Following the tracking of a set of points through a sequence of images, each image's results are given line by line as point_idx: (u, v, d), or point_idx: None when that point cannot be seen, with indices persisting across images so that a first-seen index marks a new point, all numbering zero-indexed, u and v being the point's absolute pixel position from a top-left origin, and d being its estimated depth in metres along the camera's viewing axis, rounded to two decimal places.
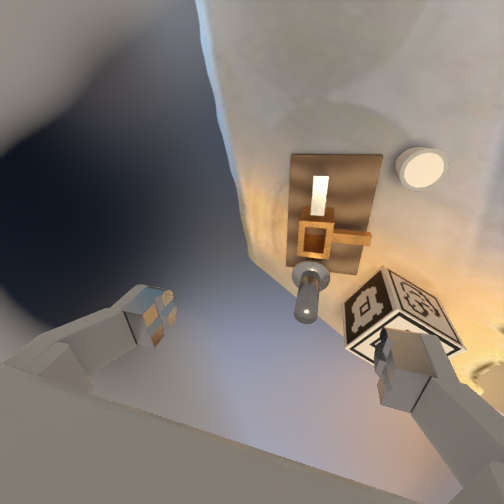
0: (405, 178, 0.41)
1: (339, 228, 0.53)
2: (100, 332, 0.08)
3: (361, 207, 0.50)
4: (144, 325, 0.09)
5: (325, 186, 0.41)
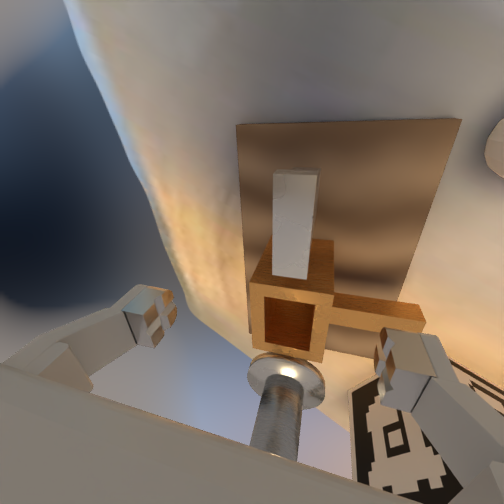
0: None
1: (344, 279, 0.26)
2: (100, 332, 0.08)
3: (394, 241, 0.23)
4: (144, 325, 0.09)
5: (308, 204, 0.14)
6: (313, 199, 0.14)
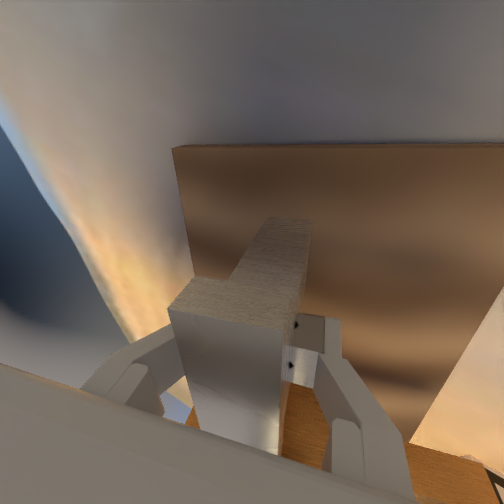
0: None
1: None
2: (171, 350, 0.08)
3: (431, 333, 0.14)
4: None
5: (265, 382, 0.05)
6: (278, 375, 0.05)
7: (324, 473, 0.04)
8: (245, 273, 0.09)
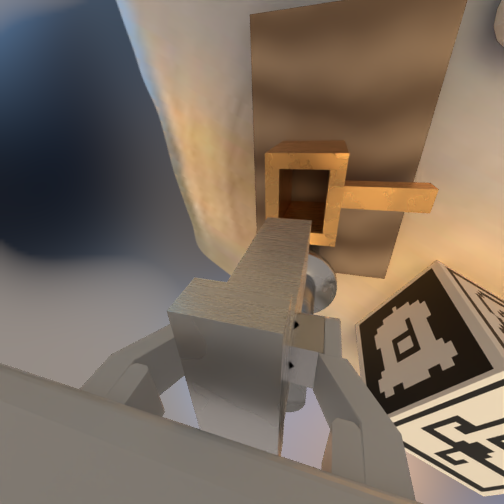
0: None
1: None
2: (171, 349, 0.08)
3: (404, 133, 0.23)
4: None
5: (265, 384, 0.05)
6: (278, 377, 0.05)
7: (324, 473, 0.04)
8: (245, 274, 0.09)
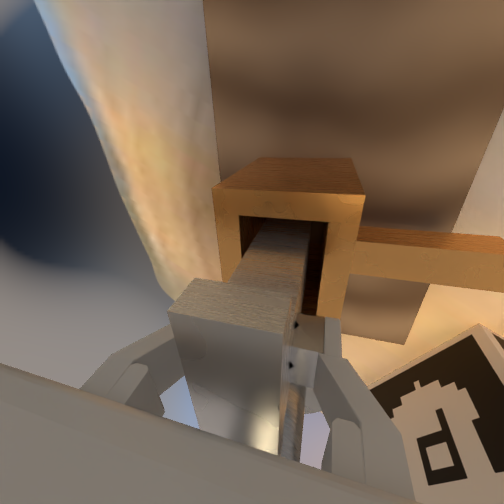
0: None
1: (364, 223, 0.18)
2: (171, 349, 0.08)
3: (447, 150, 0.15)
4: None
5: (265, 385, 0.05)
6: (278, 378, 0.05)
7: (324, 473, 0.04)
8: (245, 275, 0.09)
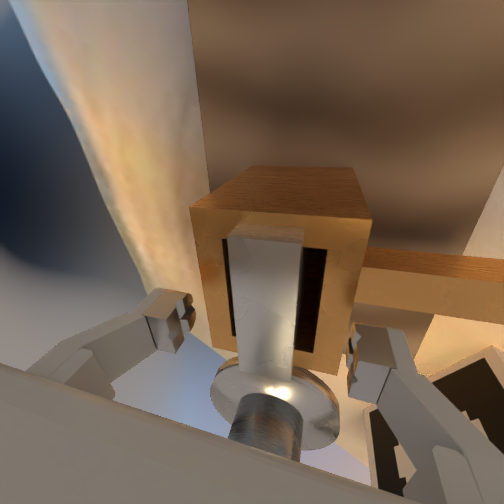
0: None
1: None
2: (122, 337, 0.08)
3: (461, 159, 0.13)
4: (166, 330, 0.09)
5: (288, 286, 0.08)
6: (296, 279, 0.08)
7: (324, 473, 0.04)
8: None
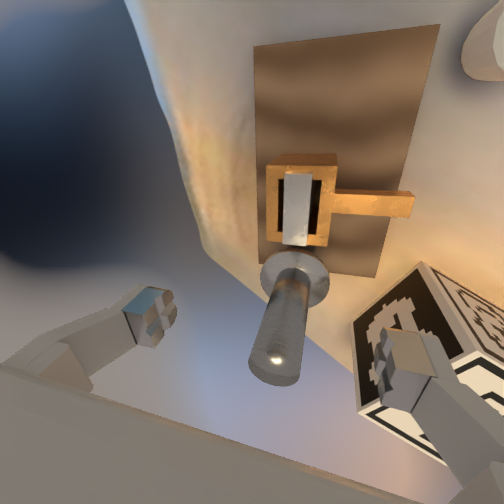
0: None
1: None
2: (100, 332, 0.08)
3: (388, 148, 0.26)
4: (144, 325, 0.09)
5: (306, 193, 0.22)
6: (310, 189, 0.21)
7: (324, 473, 0.04)
8: None
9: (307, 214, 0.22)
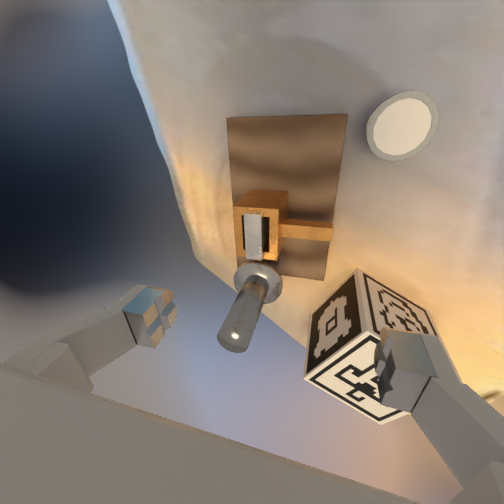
0: (375, 141, 0.28)
1: (297, 219, 0.40)
2: (100, 332, 0.08)
3: (323, 189, 0.37)
4: (144, 325, 0.09)
5: (258, 226, 0.32)
6: (260, 224, 0.32)
7: (324, 473, 0.04)
8: None
9: (260, 239, 0.33)
